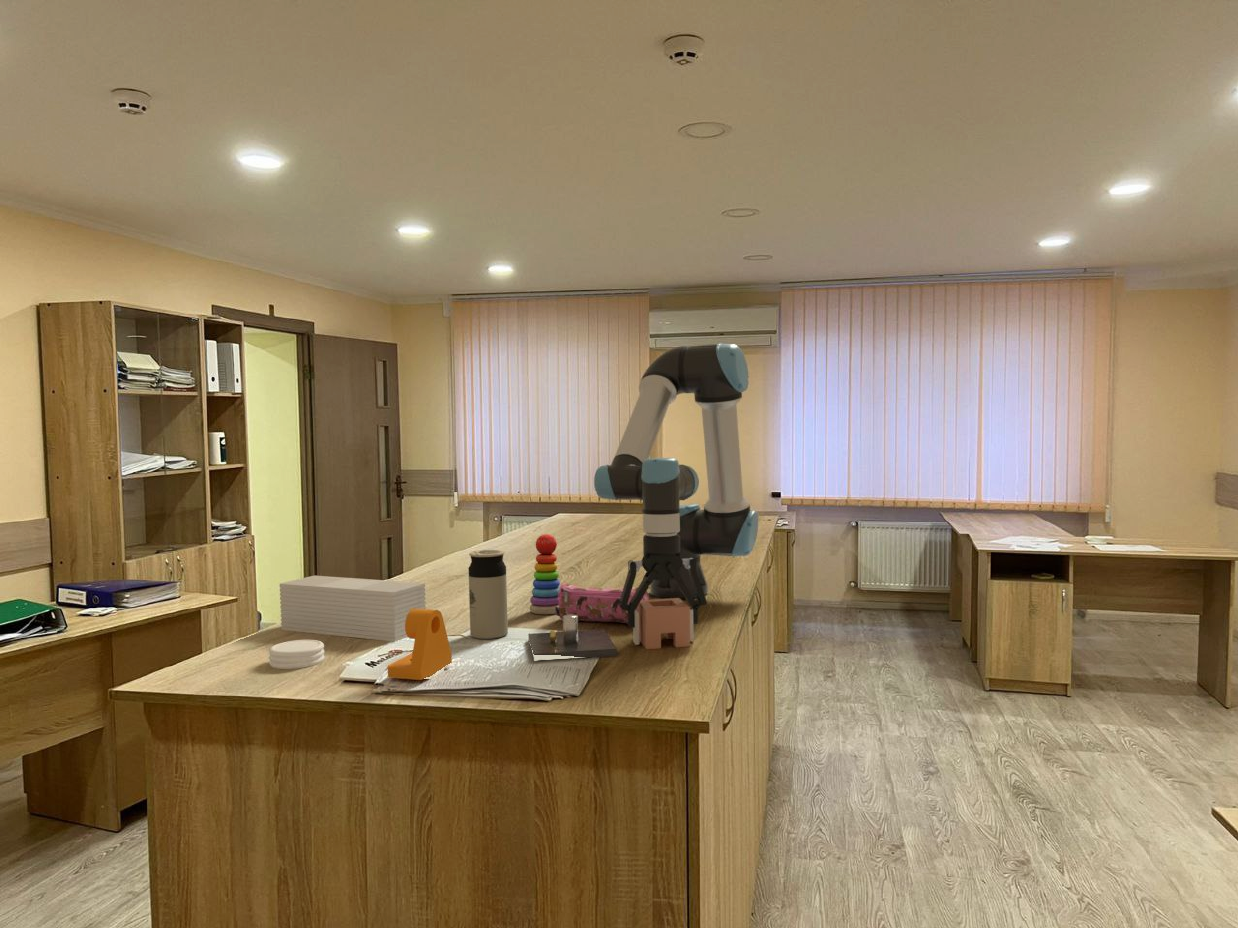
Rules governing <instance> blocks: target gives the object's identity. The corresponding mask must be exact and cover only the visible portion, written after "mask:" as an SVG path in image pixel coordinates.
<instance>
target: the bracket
mask: <svg viewBox="0 0 1238 928" xmlns="http://www.w3.org/2000/svg"><path fill="white" fill-rule="evenodd" d="M405 631H406V634H407V636H408V637H407V638H409V639H412V640H414V641H413V642H414V643H413V648H412V649H413V650H412V653H410V654H409V655H406V656H404V657H403V658H400V659H397V660H396V661H394V662H392V663H389V664H388V665H387V677H388V678H392V679H402V680H416V681H423V680H422V679H424V678H426V677H430V676H432V675H433V674H435V673H436V672H437V671H439V670H441V669H442V668H443V667H445V666H446V665H448V664H450V663H451V664H452V662H453V661H452V659H453V658H452V650H451V646H450V643H449V639H448V638H449V637H448V634H447V629H446V625H445V621H444V618H443V614H442V612H441V611H440V610H439V609H412V610H410V611H409V613H408V615H407V617H406V621H405ZM451 664H450V665H451ZM448 666H449V665H448ZM446 667H447V666H446ZM446 667H445V668H446Z"/></svg>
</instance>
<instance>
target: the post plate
mask: <svg viewBox="0 0 1238 928" xmlns="http://www.w3.org/2000/svg"><path fill="white" fill-rule="evenodd" d="M529 642H530V644H531V648H532V650H533V654H534V655H561V656H574V657H597V658H607V657H618V649H617V647H616V645H615V643H614V642H613V641H612V639H611V637H610V636H609V634H608V633H607V631H606V630H605V629H604V628H602V629H587V630H585V629H584V630H579V621H578V616H577V615H564V616H563V620H562V631H557V630H553V629H552V630H550V631H548V632H537V633H528V643H529ZM530 644H529V645H530ZM531 648H530V649H531Z"/></svg>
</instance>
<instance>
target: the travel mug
mask: <svg viewBox="0 0 1238 928" xmlns="http://www.w3.org/2000/svg"><path fill="white" fill-rule="evenodd" d="M504 555H505V551H504V550H501V549H481V550H480V549H479V550H474V551H470V552H469V556H470V560H471V562H470V565H469V567H468V593H469V594H468V598H469V626H470V627H469V628H470V629H469V630H470V631H469V632H470V633H469V634H470V636H471V637H472V638H474V639H478V640H494V639H500V638H503V637H504V636H506V635H508V633H509V627H508V625H509V624H508V594H507V593H508V592H507V591H508V589H507V587H508V586H507V566H506V564H505V562H504Z"/></svg>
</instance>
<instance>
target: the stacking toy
mask: <svg viewBox="0 0 1238 928" xmlns="http://www.w3.org/2000/svg"><path fill="white" fill-rule="evenodd" d="M557 543H558V542H557V539H556V537H554V536H553V535H552V534H548V533H544V534H541V535H540V536H539V537H537V539H536V540H535V548H536V551H537V552H538V553H539V554H536V556H535V562H536V563H535V565H534V570H535V572H534V574H533V577H534V580H533V581H532V587H533V588H532V590H531V595H532V596H531V597H530V599H529V600H530V603H531V604H530V606H529V611H530V612H531V613H532V614H536V615H554V614H555V615H556V612H555V607H559V597H558V592H559V589H560V586H561V582H560V581H561V580H559V579H558V578H559V575H560V574H559V572H558V570H557V569H558V564H557V563H556V562H557V559H558V557H557V555H556V554H555V551H556V549H557V547H558V546H557V545H558V544H557Z"/></svg>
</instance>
